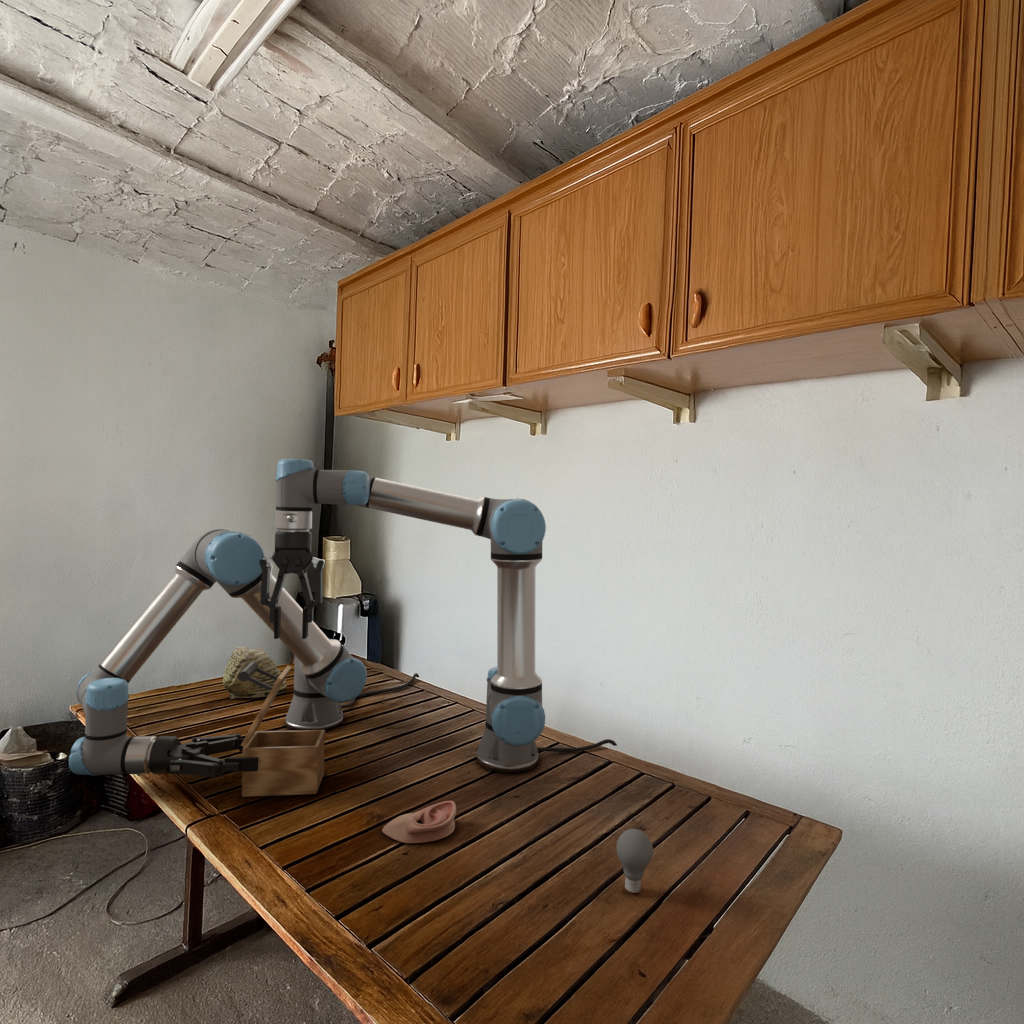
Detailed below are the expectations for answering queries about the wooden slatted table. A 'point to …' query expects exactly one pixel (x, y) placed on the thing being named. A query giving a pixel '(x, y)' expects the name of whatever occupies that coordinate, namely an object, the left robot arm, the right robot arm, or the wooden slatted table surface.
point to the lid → (247, 674)
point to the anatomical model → (423, 824)
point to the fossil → (248, 688)
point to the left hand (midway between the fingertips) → (264, 753)
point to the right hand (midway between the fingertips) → (291, 637)
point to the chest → (284, 763)
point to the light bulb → (634, 857)
